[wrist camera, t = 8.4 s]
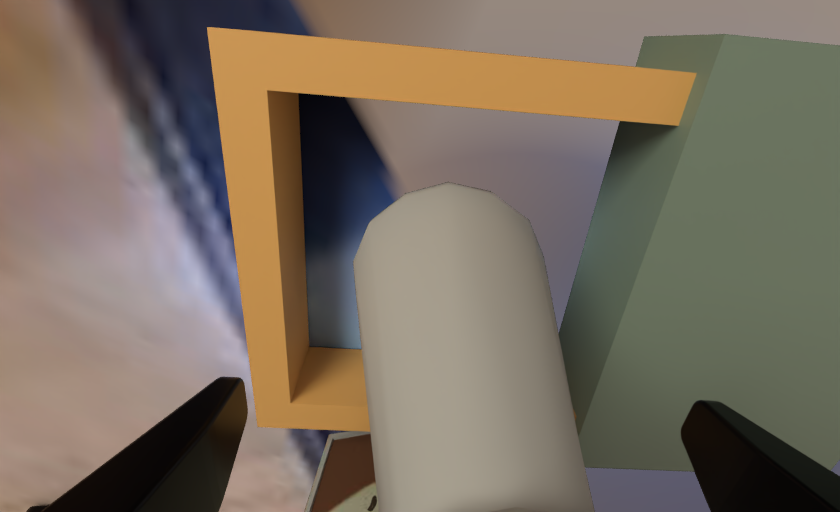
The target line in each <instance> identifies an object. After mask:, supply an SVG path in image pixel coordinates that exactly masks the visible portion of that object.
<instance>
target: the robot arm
mask: <svg viewBox="0 0 840 512" xmlns="http://www.w3.org/2000/svg"><path fill="white" fill-rule="evenodd" d="M247 414H248V408H247V400H246V393H245V386H244V382H243V380H242V379H241V378H238V377H220V378H218V379H216V380H215V381H213V382H212V383H211V384H209V385H208V386H207V387H205V388H204V389H203V390H201V391H200V392H199V393H197V394H196V395H195V396H193V397H192V398H191V399H189V400H188V401H187V402H185V403H184V404H183V405H182V406H180V407H179V408H178V409H176V410H175V411H174V412H172V413H171V414H170V415H168V416H167V417H166V418H164V419H163V420H162V421H160V422H159V423H158V424H156V425H155V426H154V427H152V428H151V429H150V430H148V431H147V432H146V433H144V434H143V435H142V436H140V437H139V438H138V439H136V440H135V441H134V442H132V443H131V444H130V445H128V446H127V447H126V448H124V449H123V450H122V451H120V452H119V453H118V454H116V455H115V456H114V457H113V458H111V459H110V460H109V461H107V462H106V463H105V464H103V465H102V466H101V467H99V468H98V469H97V470H95V471H94V472H93V473H91V474H90V475H89V476H87V477H86V478H85V479H83V480H82V481H81V482H79V483H78V484H77V485H75V486H74V487H73V488H71V489H70V490H69V491H67V492H66V493H65V494H63V495H62V496H61V497H59V498H58V499H57V500H55V501H54V502H53V503H51V504H50V505H49V506H32V507H30V508H29V509H28V510H27V511H26V512H218V511H219V509H220V506H221V504H222V501H223V498H224V495H225V491H226V488H227V485H228V481H229V478H230V475H231V471H232V468H233V464H234V461H235V458H236V454H237V451H238V448H239V444H240V441H241V437H242V434H243V431H244V427H245V424H246V420H247ZM681 439H682V442H683V445H684V447H685V450H686V452H687V454H688V457H689V459H690V462H691V464H692V467H693V469H694V472H695V474H696V477H697V479H698V481H699V484H700V486H701V489H702V491H703V494H704V496H705V499H706V501H707V503H708V506H709V508H710V510H711V512H840V476H838V475H837V474H835V473H834V472H832V471H830V470H829V469H827V468H826V467H824V466H822V465H821V464H819V463H818V462H816V461H814V460H813V459H811V458H810V457H808V456H806V455H805V454H803V453H802V452H800V451H798V450H797V449H795V448H794V447H792V446H790V445H789V444H787V443H786V442H784V441H782V440H781V439H779V438H778V437H776V436H774V435H773V434H771V433H770V432H768V431H766V430H765V429H763V428H762V427H760V426H758V425H757V424H755V423H754V422H752V421H750V420H749V419H747V418H746V417H744V416H743V415H741V414H739V413H738V412H736V411H735V410H733V409H731V408H730V407H728V406H727V405H725V404H723V403H722V402H719V401H714V400H697V401H696V402H695V403H694V404H693V405H692V407H691V409H690V411H689V413H688V415H687V417H686V419H685V421H684V423H683V425H682V427H681Z"/></svg>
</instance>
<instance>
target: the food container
mask: <svg viewBox="0 0 840 512" xmlns="http://www.w3.org/2000/svg"><path fill="white" fill-rule="evenodd" d="M304 512H379V508H378V499H377V489H376V480H375V470H374V461H373V452H372V442H371V433H370V432H367V431H347V432H341V433H336V434H330V435H329V436H328V439H327V443H326V446H325V449H324V452H323V455H322V458H321V461H320V464H319V467H318V471H317V474H316V477H315V480H314V483H313V486H312V489H311V492H310V495H309V498H308V502H307V505H306V508H305V511H304Z"/></svg>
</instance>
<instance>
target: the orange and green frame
mask: <svg viewBox="0 0 840 512" xmlns="http://www.w3.org/2000/svg"><path fill="white" fill-rule="evenodd" d="M207 31H208V39H209V47H210V55H211V63H212V70H213V78H214V86H215V94H216V102H217V110H218V118H219V126H220V134H221V141H222V149H223V157H224V165H225V173H226V181H227V189H228V197H229V205H230V212H231V220H232V228H233V236H234V244H235V252H236V260H237V268H238V276H239V283H240V291H241V299H242V307H243V315H244V323H245V331H246V339H247V347H248V354H249V362H250V370H251V378H252V386H253V394H254V402H255V410H256V418H257V425H258V427H272V428H296V429H319V430H343V431H367V432H370V423H369V414H368V404H367V395H366V386H365V376H364V367H363V357H362V350H361V349H342V348H324V347H309V328H308V305H307V282H306V259H305V236H304V213H303V190H302V167H301V144H300V121H299V98H298V93H305V94H316V95H328V96H339V97H351V98H363V99H374V100H386V101H397V102H410V103H421V104H432V105H444V106H455V107H467V108H480V109H491V110H502V111H513V112H525V113H537V114H548V115H559V116H571V117H583V118H594V119H606V120H617V121H620V123H619V126H618V130H617V133H616V136H615V140H614V143H613V147H612V150H611V154H610V157H609V161H608V164H607V168H606V172H605V175H604V178H603V182H602V185H601V189H600V192H599V196H598V199H597V203H596V206H595V209H594V213H593V216H592V220H591V223H590V227H589V230H588V234H587V237H586V241H585V244H584V248H583V251H582V255H581V258H580V262H579V265H578V269H577V272H576V275H575V279H574V282H573V286H572V290H571V293H570V296H569V300H568V304H567V307H566V310H565V314H564V317H563V321H562V324H561V328H560V331H559V339H560V344H561V349H562V355H563V360H564V365H565V370H566V375H567V381H568V386H569V391H570V396H571V402H572V407H573V412H574V417H575V422H576V428H577V433H578V438H579V443H580V448H581V453H582V457H583V462H584V466H585V467H590V468H614V469H615V468H616V469H640V470H666V471H692V472H694V469H693V467H692V464H691V462H690V459H689V457H688V454H687V452H686V450H685V447H684V445H683V442H682V439H681V427H682V425H683V423H684V421H685V419H686V417H687V415H688V413H689V411H690V409H691V407H692V405H693V404H694V403H695V402H696V401H697V400H714V401H719V402H722V403H723V404H725V405H727V406H728V407H730V408H731V409H733V410H735V411H736V412H738V413H739V414H741V415H743V416H744V417H746V418H747V419H749V420H750V421H752V422H754V423H755V424H757V425H758V426H760V427H762V428H763V429H765V430H766V431H768V432H770V433H771V434H773V435H774V436H776V437H778V438H779V439H781V440H782V441H784V442H786V443H787V444H789V445H790V446H792V447H794V448H795V449H797V450H798V451H800V452H802V453H803V454H805V455H806V456H808V457H810V458H811V459H813V460H814V461H816V462H818V463H819V464H821V465H822V466H824V467H826V468H827V469H829V470H830V471H831V470H832V468H833V467H834V466H835V465H836V463H837V462H838V461H839V460H840V46H838V45H829V44H819V43H809V42H799V41H789V40H779V39H769V38H759V37H748V36H738V35H728V34H716V35H683V36H649V37H644V39H643V43H642V46H641V50H640V53H639V57H638V60H637V64H636V67H632V66H622V65H610V64H600V63H590V62H578V61H569V60H558V59H547V58H537V57H526V56H514V55H503V54H494V53H483V52H472V51H462V50H451V49H441V48H430V47H420V46H409V45H398V44H387V43H377V42H366V41H356V40H344V39H334V38H324V37H313V36H303V35H292V34H281V33H271V32H260V31H249V30H237V29H225V28H213V27H207Z"/></svg>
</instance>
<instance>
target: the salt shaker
mask: <svg viewBox="0 0 840 512" xmlns="http://www.w3.org/2000/svg"><path fill="white" fill-rule="evenodd" d="M353 266H354V278H355V290H356V301H357V310H358V320H359V329H360V338H361V348H362V357H363V367H364V376H365V386H366V395H367V404H368V414H369V423H370V433H371V442H372V452H373V461H374V470H375V480H376V489H377V499H378V508H379V512H595V511H594V506H593V502H592V497H591V493H590V489H589V484H588V480H587V475H586V471H585V466H584V462H583V457H582V453H581V448H580V443H579V438H578V433H577V428H576V422H575V417H574V412H573V407H572V402H571V396H570V391H569V386H568V381H567V375H566V370H565V365H564V360H563V355H562V349H561V344H560V339H559V334H558V329H557V323H556V318H555V313H554V308H553V303H552V297H551V292H550V287H549V282H548V276H547V272H546V266H545V261H544V256H543V254H542V251H541V249H540V246H539V244H538V241H537V239H536V236H535V234H534V231H533V229H532V226H531V224H530V221H529V220H528V219H527V218H526V217H524V216H523V215H522V214H520V213H519V212H518V211H516V210H515V209H514V208H512V207H511V206H510V205H508V204H507V203H506V202H504V201H503V200H502V199H500V198H499V197H498V196H496V195H495V194H494V193H492V192H491V191H487V190H482V189H478V188H473V187H468V186H464V185H460V184H455V183H450V182H446V183H442V184H439V185H435V186H432V187H428V188H424V189H420V190H417V191H413V192H409V193H405V194H404V195H403V196H402V197H400V198H399V199H398V200H396V201H395V202H394V203H393V204H391V205H390V206H389V207H387V208H386V209H385V210H383V211H382V212H381V213H380V214H378V215H377V216H376V217H374V218H373V219H372V220H371V222H370V223H369V224H368V226H367V229H366V231H365V234H364V236H363V239H362V241H361V244H360V246H359V249H358V251H357V254H356V256H355V258H354V261H353Z"/></svg>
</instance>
